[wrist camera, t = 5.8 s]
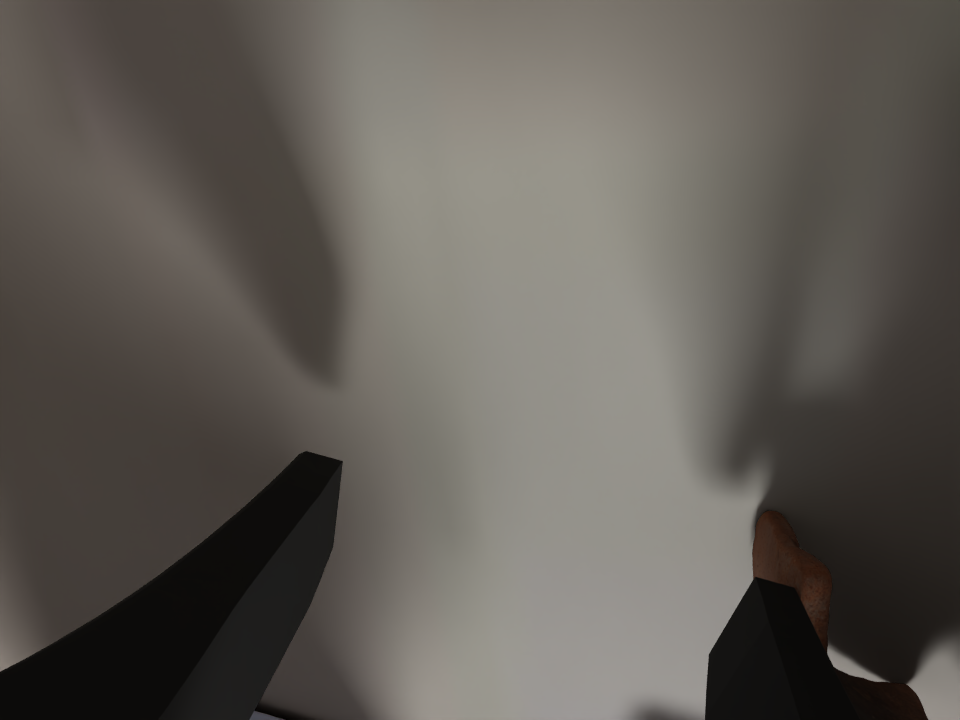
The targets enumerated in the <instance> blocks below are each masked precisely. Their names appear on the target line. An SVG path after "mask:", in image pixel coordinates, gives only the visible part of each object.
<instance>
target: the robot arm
mask: <svg viewBox="0 0 960 720" xmlns="http://www.w3.org/2000/svg"><path fill="white" fill-rule="evenodd" d="M342 463H343V461H340V460H336V459H333V458H329V457H326V456H322V455H318V454H315V453H311V452H308V451H305V452H303V453H301V454H299V455H298V456H297V457H296V458H295V459H294V460H293V461H292V462H291V463H290V464H289V465H288V466H287V467H286V468H285V469H284V470H283V471H282V472H281V473H280V474H279V475H278V476H277V477H276V478H275V479H274V480H273V481H272V482H271V483H270V484H269V485H268V486H266V487H265V488H264V489H263V490H262V491H261V492H260V493H259V494H258V495H257V496H256V497H254V498H253V499H252V500H251V501H250V502H249V503H248V504H247V505H246V506H245V507H243V508H242V509H241V510H240V511H239V512H238V513H236V514H235V515H234V516H233V517H232V518H230V519H229V520H228V521H227V522H226V523H225V524H223V525H222V526H221V527H220V528H219V529H217V530H216V531H215V532H214V533H213V534H212V535H210V536H209V537H208V538H207V539H205V540H204V541H203V542H202V543H201V544H199V545H198V546H197V547H195V548H194V549H193V550H191V551H190V552H189V553H187V554H186V555H185V556H184V557H182V558H181V559H180V560H178V561H177V562H176V563H174V564H173V565H172V566H170V567H169V568H168V569H166V570H165V571H164V572H163V573H161V574H160V575H158V576H157V577H156V578H154V579H153V580H152V581H150V582H149V583H147V584H146V585H144V586H143V587H142V588H140V589H139V590H137V591H136V592H134V593H133V594H131V595H130V596H128V597H127V598H125V599H124V600H122V601H121V602H119V603H118V604H116V605H115V606H113V607H112V608H110V609H109V610H107V611H106V612H104V613H102V614H101V615H99V616H98V617H96V618H95V619H93V620H91V621H90V622H88V623H86V624H85V625H83V626H81V627H80V628H78V629H76V630H75V631H73V632H71V633H70V634H68V635H66V636H64V637H63V638H61V639H59V640H58V641H56V642H54V643H53V644H51V645H49V646H47V647H46V648H44V649H42V650H40V651H39V652H37V653H35V654H33V655H31V656H30V657H28V658H26V659H24V660H22V661H20V662H18V663H16V664H14V665H12V666H10V667H9V668H7V669H5V670H3V671H1V672H0V720H284V719H281V718H278V717H274V716H271V715H268V714H264V713H261V712H258V711H254V710H255V708H256V707H257V705H258V703H259V701H260V699H261V697H262V695H263V693H264V691H265V690H266V688H267V686H268V684H269V682H270V680H271V678H272V676H273V675H274V673H275V671H276V669H277V667H278V665H279V663H280V661H281V659H282V658H283V656H284V654H285V652H286V650H287V648H288V646H289V644H290V642H291V641H292V639H293V637H294V635H295V633H296V631H297V629H298V627H299V625H300V623H301V621H302V620H303V618H304V616H305V614H306V612H307V610H308V608H309V606H310V604H311V602H312V599H313V597H314V594H315V592H316V589H317V587H318V584H319V582H320V579H321V577H322V574H323V572H324V569H325V566H326V564H327V561H328V559H329V556H330V553H331V551H332V548H333V543H334V534H335V525H336V517H337V508H338V499H339V490H340V481H341V472H342ZM705 720H861V719H860V717H859V715H858V713H857V712H856V710H855V708H854V706H853V704H852V702H851V700H850V698H849V697H848V695H847V693H846V691H845V689H844V687H843V685H842V683H841V681H840V679H839V677H838V675H837V673H836V671H835V669H834V667H833V665H832V663H831V661H830V659H829V657H828V655H827V653H826V651H825V649H824V647H823V645H822V643H821V640H820V638H819V636H818V634H817V632H816V630H815V628H814V626H813V624H812V622H811V620H810V618H809V616H808V614H807V611H806V609H805V607H804V605H803V603H802V601H801V599H800V597H799V595H798V593H797V591H796V589H795V588H794V587H791V586H787V585H784V584H780V583H776V582H773V581H769V580H766V579H762V578H758V577H755V578H754V580H753V581H752V583H751V585H750V586H749V588H748V590H747V591H746V593H745V595H744V596H743V598H742V600H741V601H740V603H739V605H738V606H737V608H736V610H735V611H734V613H733V615H732V616H731V618H730V620H729V621H728V623H727V625H726V627H725V628H724V630H723V632H722V633H721V635H720V637H719V638H718V640H717V642H716V643H715V645H714V647H713V648H712V650H711V652H710V653H709V662H708V675H707V689H706V710H705Z"/></svg>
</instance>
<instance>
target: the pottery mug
mask: <svg viewBox="0 0 960 720" xmlns="http://www.w3.org/2000/svg"><path fill="white" fill-rule="evenodd" d="M752 555H753V579H754V578H755V577H758V578H762V579H766V580H769V581H773V582H776V583H780V584H784V585H787V586H791V587H794V588H795V589H796V591H797V593H798V595H799V597H800V599H801V601H802V603H803V605H804V607H805V609H806V611H807V614H808V616H809V618H810V620H811V622H812V624H813V626H814V628H815V630H816V632H817V634H818V636H819V638H820V640H821V643H822V645H823V647H824V649H825V651H826V653H827V647H828V635H827V631H828V623H829V608H830V600H831V592H832V577H831V574H830V572H829V570H828V568H827V567H826V566H825V565H824V564H823V563H822V562H821V561H819V560H818V559H817V558H816V557H815V556H813V555H811V554H809V553H808V552H806V551H804V550H802V549H800V548H799V543H798V540H797V537H796V535H795V533H794V531H793V529H792V527H791V526H790V524H789V523H788V521H787V520H786V519H785V517H784V516H783V515H782V514H780V513H779V512H776V511H766V512H764V513H763V514H762V515H761V517H760V518H759V520H758V522H757V524H756V532H755V539H754V544H753V552H752ZM834 669H835V671H836V673H837V675H838V677H839V679H840V681H841V683H842V685H843V687H844V689H845V691H846V693H847V695H848V697H849V698H850V700H851V702H852V704H853V706H854V708H855V710H856V712H857V713H858V715H859V717H860V719H861V720H928V718H927V716H926V714H925V711H924V709H923V706H922V704H921V701H920V699H919V697H918V696H917V694H916V693H915V692H914V691H913V690H912V689H911V688H910V687H909V686H908V685H906V684H899V683H889V682H874V681H870V680H867V679H864V678H860V677H855V676H851V675H848V674H846V673H844V672H842V671H840V670H838V669H836V668H835V667H834Z"/></svg>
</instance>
